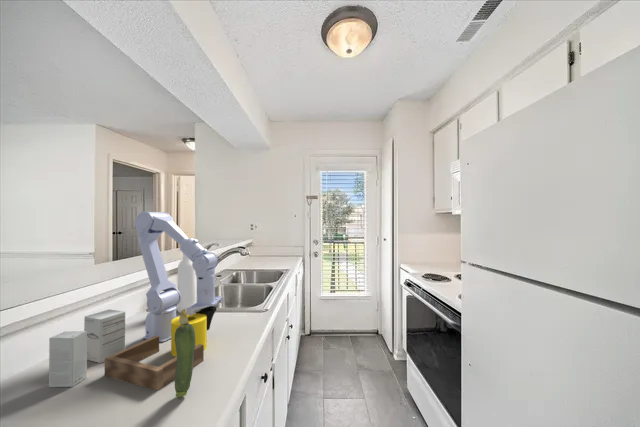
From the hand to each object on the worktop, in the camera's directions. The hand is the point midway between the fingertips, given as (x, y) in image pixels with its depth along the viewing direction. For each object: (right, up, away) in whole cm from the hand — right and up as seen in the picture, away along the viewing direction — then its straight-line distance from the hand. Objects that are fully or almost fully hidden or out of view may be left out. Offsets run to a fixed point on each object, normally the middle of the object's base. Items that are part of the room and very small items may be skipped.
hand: (205, 329), depth 91 cm
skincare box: (-25, -3, -23) cm, 34 cm away
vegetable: (+7, -3, -29) cm, 30 cm away
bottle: (-22, -5, +31) cm, 38 cm away
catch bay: (-6, -3, -16) cm, 18 cm away
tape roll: (-2, -4, -7) cm, 8 cm away
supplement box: (-26, -4, -10) cm, 28 cm away
